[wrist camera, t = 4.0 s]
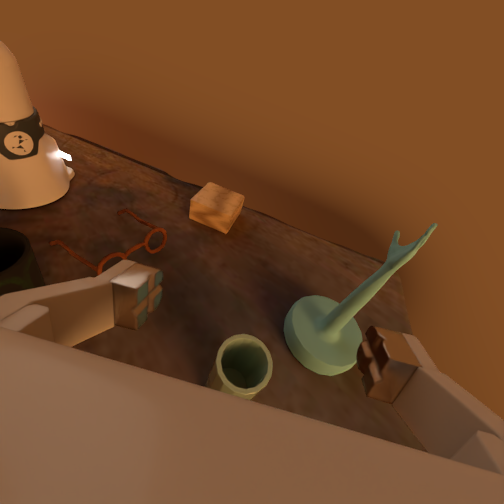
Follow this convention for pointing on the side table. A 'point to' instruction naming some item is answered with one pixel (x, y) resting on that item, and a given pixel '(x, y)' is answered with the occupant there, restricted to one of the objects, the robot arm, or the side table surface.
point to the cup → (17, 263)
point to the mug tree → (339, 317)
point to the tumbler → (241, 367)
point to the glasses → (123, 256)
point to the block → (216, 207)
